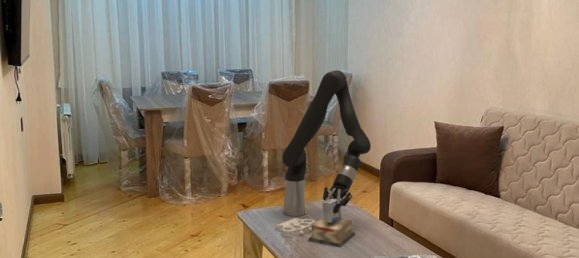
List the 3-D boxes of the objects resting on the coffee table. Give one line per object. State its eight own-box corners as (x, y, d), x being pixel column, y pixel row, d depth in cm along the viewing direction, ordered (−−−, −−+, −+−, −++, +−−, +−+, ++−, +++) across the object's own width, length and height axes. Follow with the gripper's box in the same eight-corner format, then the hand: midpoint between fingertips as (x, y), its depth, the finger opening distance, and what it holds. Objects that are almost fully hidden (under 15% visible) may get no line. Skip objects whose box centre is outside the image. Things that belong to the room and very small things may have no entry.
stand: (308, 240, 250) (308, 225, 249) (323, 229, 263) (323, 214, 262) (340, 247, 243) (340, 231, 242) (354, 234, 256) (354, 219, 254)
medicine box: (331, 223, 247) (331, 203, 245) (322, 221, 250) (322, 201, 248) (341, 217, 253) (341, 198, 251) (332, 215, 256) (332, 196, 254)
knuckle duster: (298, 221, 274) (321, 229, 264) (270, 232, 262) (293, 241, 251) (298, 214, 273) (321, 222, 263) (270, 225, 261) (293, 233, 251)
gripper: (328, 170, 258) (312, 204, 251) (355, 176, 249) (339, 210, 242) (335, 179, 263) (319, 212, 256) (362, 184, 254) (346, 219, 247)
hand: (329, 211), depth 249 cm, fingers closed on medicine box, 4 cm apart
